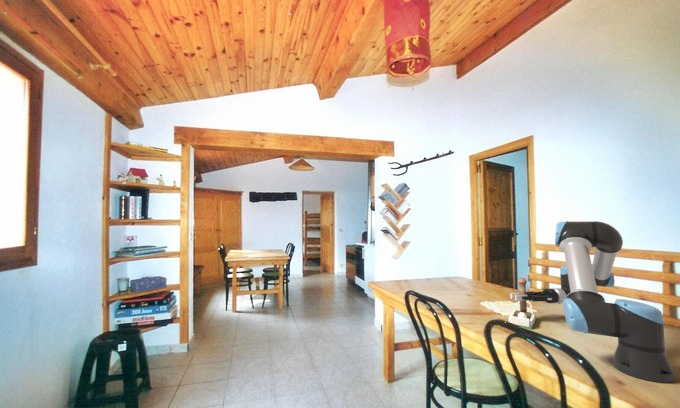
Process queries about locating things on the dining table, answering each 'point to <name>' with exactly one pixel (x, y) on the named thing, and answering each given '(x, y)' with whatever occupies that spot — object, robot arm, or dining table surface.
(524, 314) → the ball
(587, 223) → the robot arm
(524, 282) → the brown upright rod
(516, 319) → the white open tray
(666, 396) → the dining table surface
